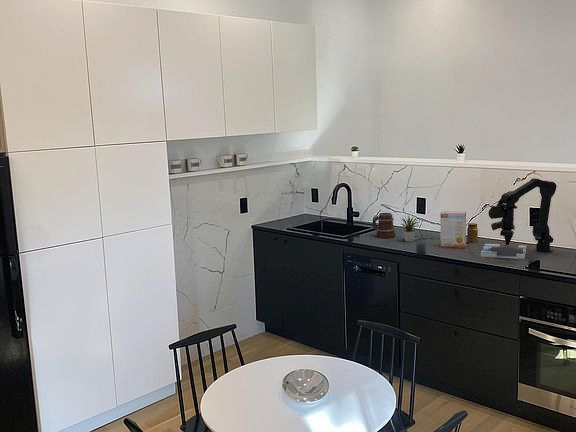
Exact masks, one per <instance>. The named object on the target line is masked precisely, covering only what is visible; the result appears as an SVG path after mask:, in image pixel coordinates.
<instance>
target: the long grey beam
mask: <svg viewBox="0 0 576 432" xmlns="http://www.w3.org/2000/svg"><path fill="white" fill-rule="evenodd" d="M491 251H497V256H514V257H516V254H523V248H518V247H513V246H511V247H509V246H500V247H495V246H492V247H491Z"/></svg>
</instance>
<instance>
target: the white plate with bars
mask: <svg viewBox="0 0 576 432" xmlns="http://www.w3.org/2000/svg"><path fill="white" fill-rule="evenodd" d="M492 246H495V247H501V244H500V243H498V244H497V243H484V246H483V247H482V250H481V251H480V257H483V258H500V259H517V260H525V257H526V252H527V245H518V247H517V248H523V254H516V257H514V256H497V251H491V247H492Z"/></svg>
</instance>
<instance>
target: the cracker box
mask: <svg viewBox="0 0 576 432" xmlns="http://www.w3.org/2000/svg"><path fill="white" fill-rule="evenodd" d="M439 214H440V218H439V219H440V221H439V222H440V227H439V228H440V229H439V231H440V232H439V235H440V237H439V238H440V240H439V241H440V245H439V246H440V248H457V249H458V248H460V249H465V248H466V247H467V245H466V242H467V211H457V210H456V211H455V210H454V211H453V210H442V211H441V212H440V213H439Z"/></svg>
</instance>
